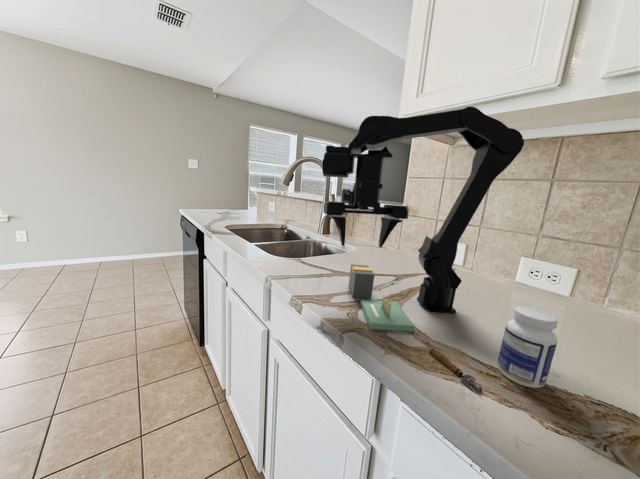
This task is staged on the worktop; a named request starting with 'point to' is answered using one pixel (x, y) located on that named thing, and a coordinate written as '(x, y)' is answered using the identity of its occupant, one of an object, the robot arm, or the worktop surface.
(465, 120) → the robot arm
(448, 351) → the worktop surface
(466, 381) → the can opener
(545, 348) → the pill bottle
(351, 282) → the block
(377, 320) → the board
